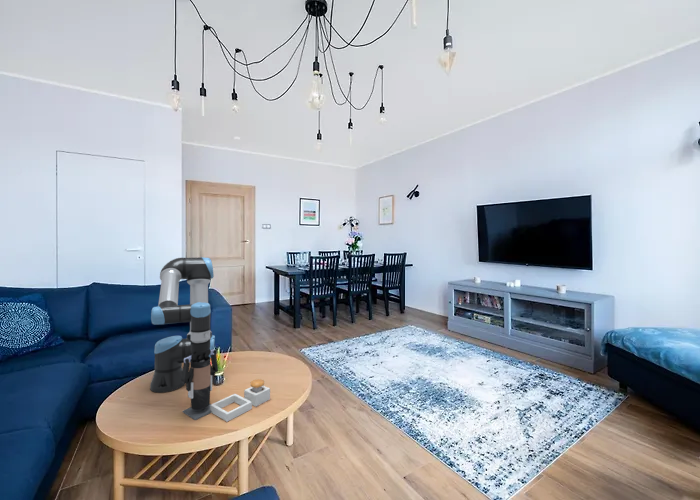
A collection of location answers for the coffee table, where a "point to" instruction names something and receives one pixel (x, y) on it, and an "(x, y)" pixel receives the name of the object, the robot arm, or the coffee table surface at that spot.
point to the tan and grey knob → (257, 385)
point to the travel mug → (201, 384)
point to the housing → (257, 395)
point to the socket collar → (228, 416)
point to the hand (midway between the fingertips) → (200, 393)
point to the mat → (197, 412)
